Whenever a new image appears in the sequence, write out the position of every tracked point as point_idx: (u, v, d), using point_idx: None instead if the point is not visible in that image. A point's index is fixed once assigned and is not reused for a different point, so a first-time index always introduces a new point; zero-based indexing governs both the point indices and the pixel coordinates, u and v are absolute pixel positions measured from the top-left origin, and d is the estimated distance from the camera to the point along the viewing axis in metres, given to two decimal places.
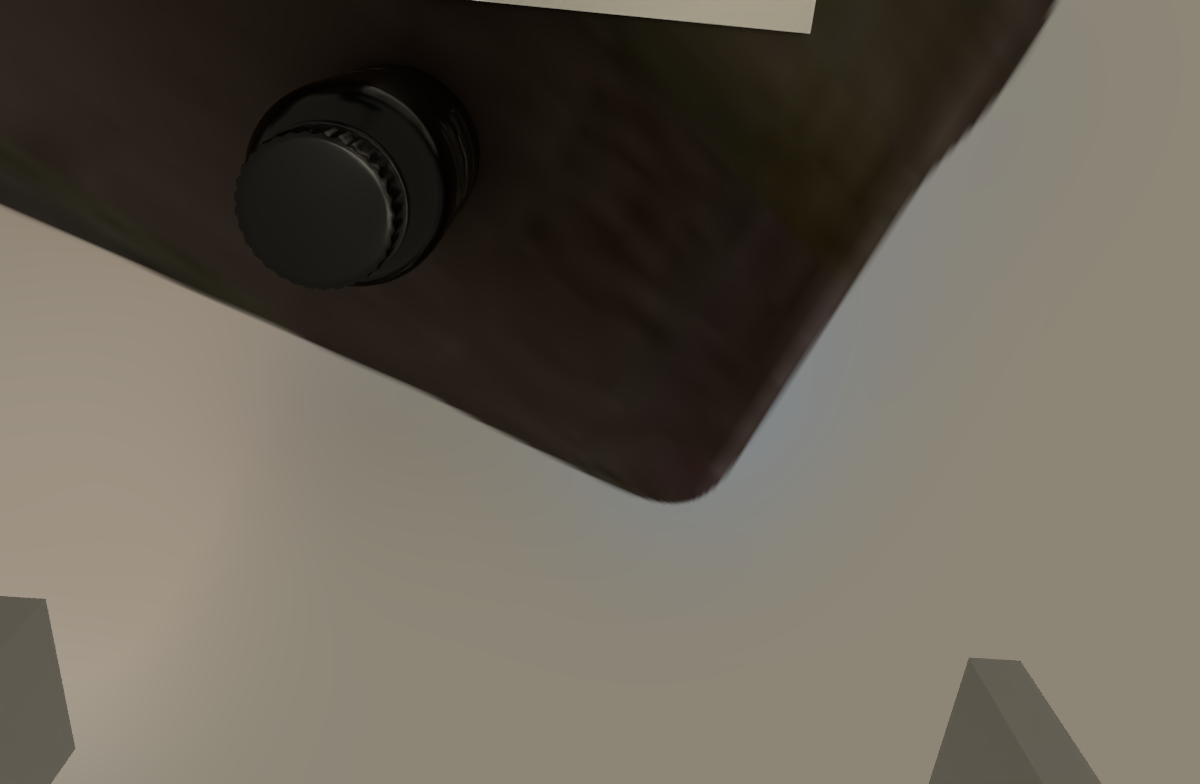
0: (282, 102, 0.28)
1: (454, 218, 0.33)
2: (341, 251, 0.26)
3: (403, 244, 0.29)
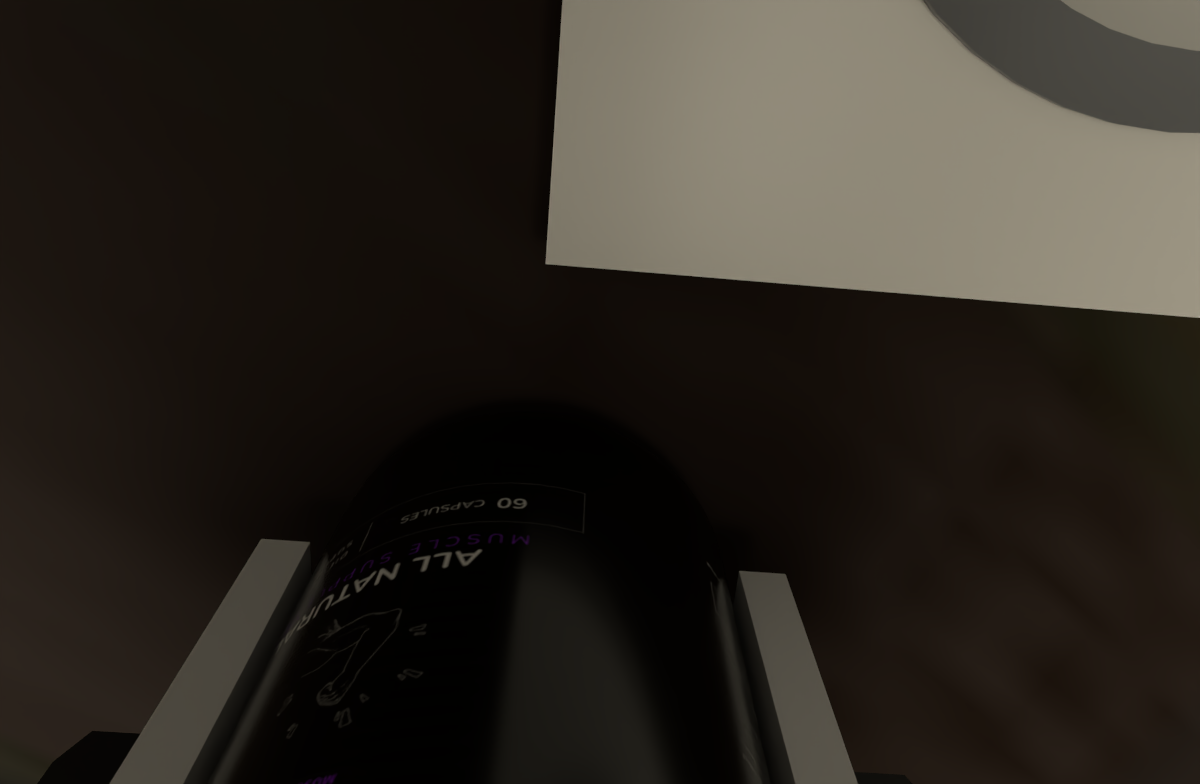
0: None
1: None
2: None
3: None
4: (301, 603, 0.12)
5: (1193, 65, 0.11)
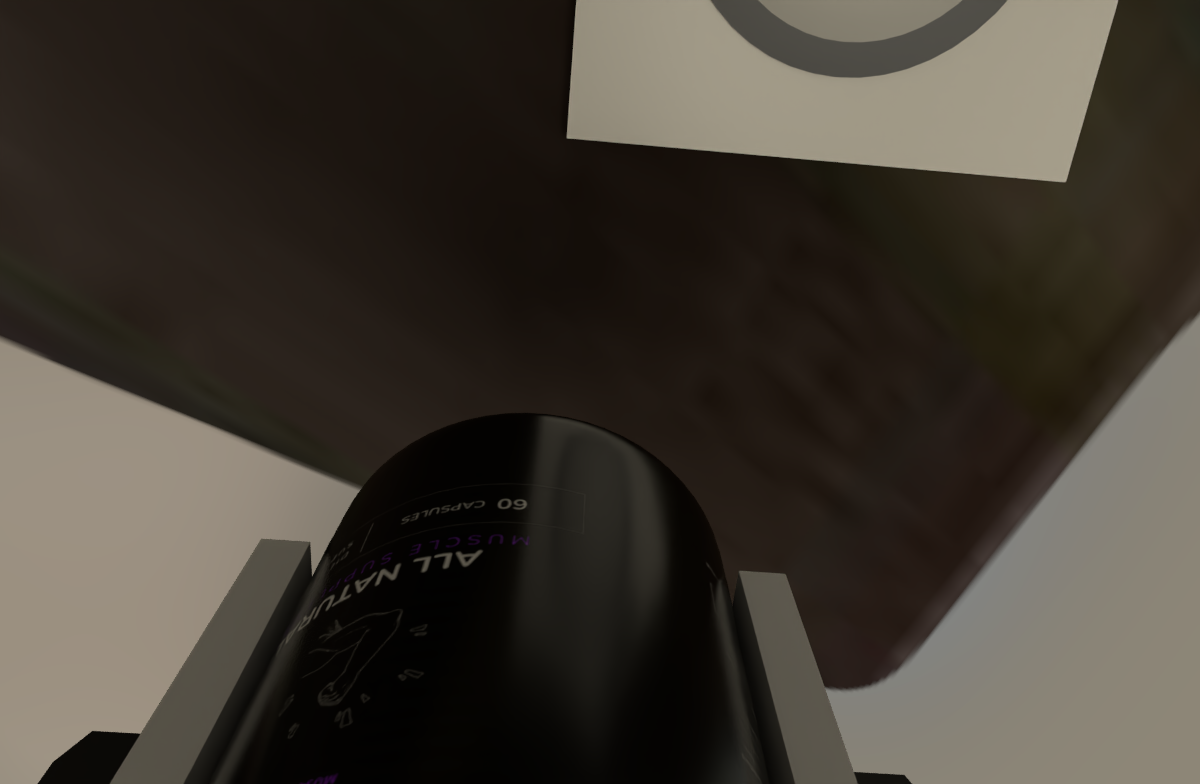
0: None
1: None
2: None
3: None
4: (302, 603, 0.12)
5: (843, 48, 0.26)
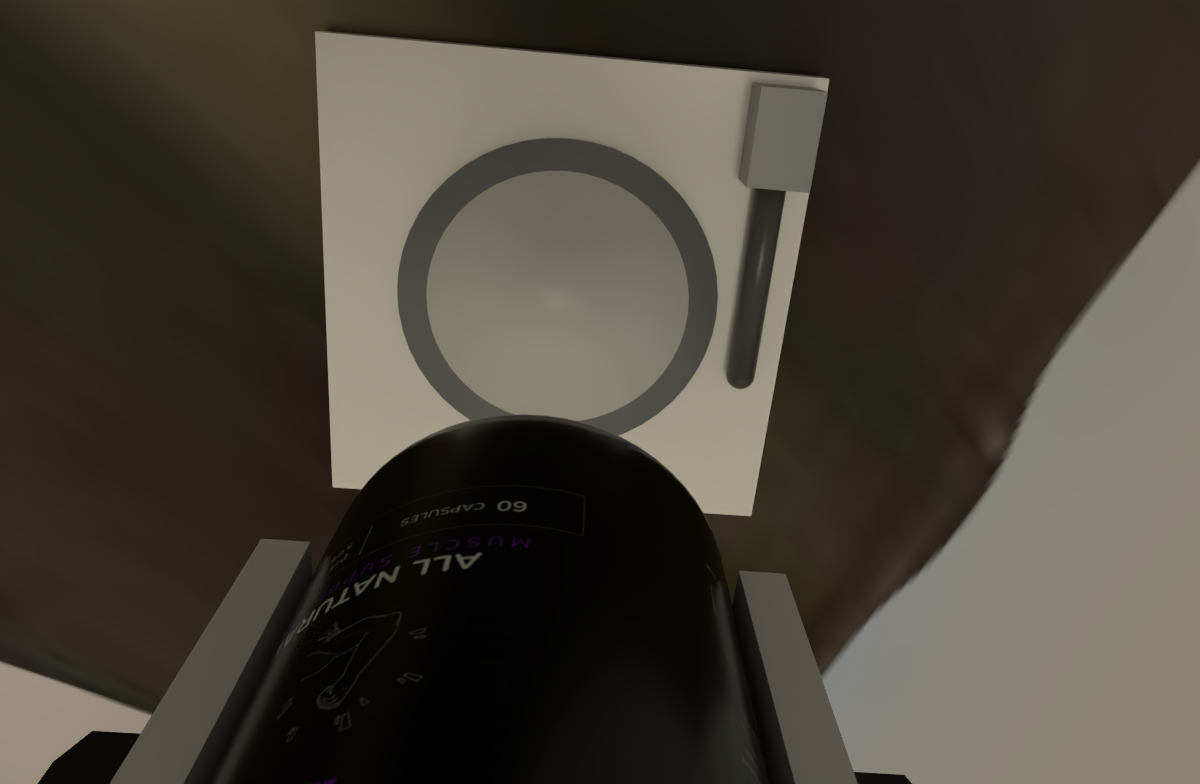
0: None
1: None
2: None
3: None
4: (301, 606, 0.12)
5: None
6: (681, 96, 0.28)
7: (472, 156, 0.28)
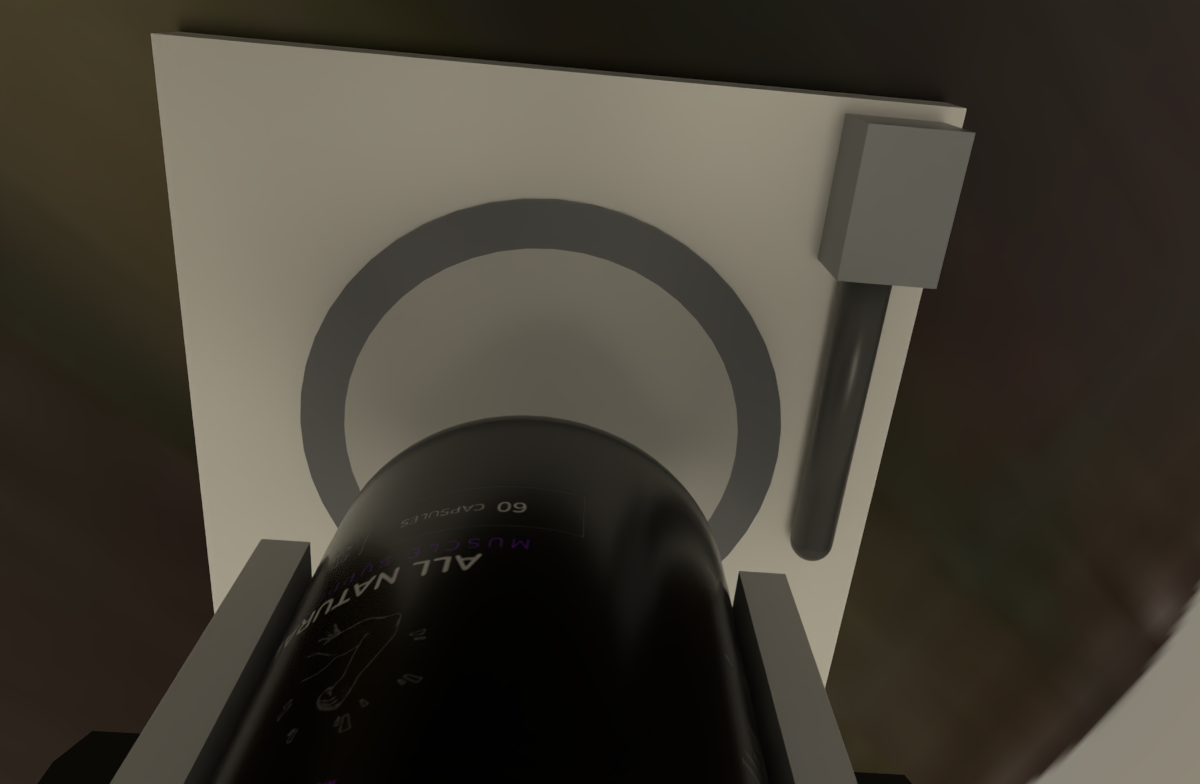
0: None
1: None
2: None
3: None
4: (301, 607, 0.12)
5: None
6: (733, 135, 0.18)
7: (408, 226, 0.18)
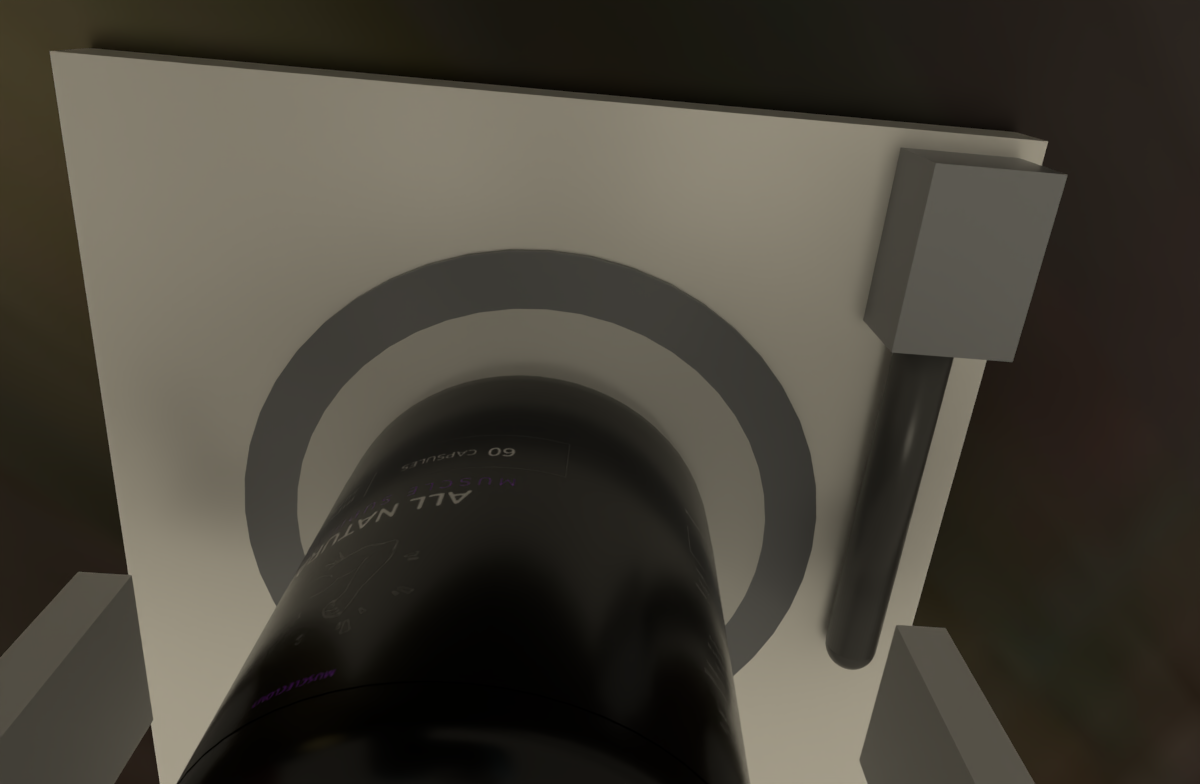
0: None
1: None
2: None
3: None
4: (312, 545, 0.13)
5: None
6: (763, 174, 0.15)
7: (369, 282, 0.15)
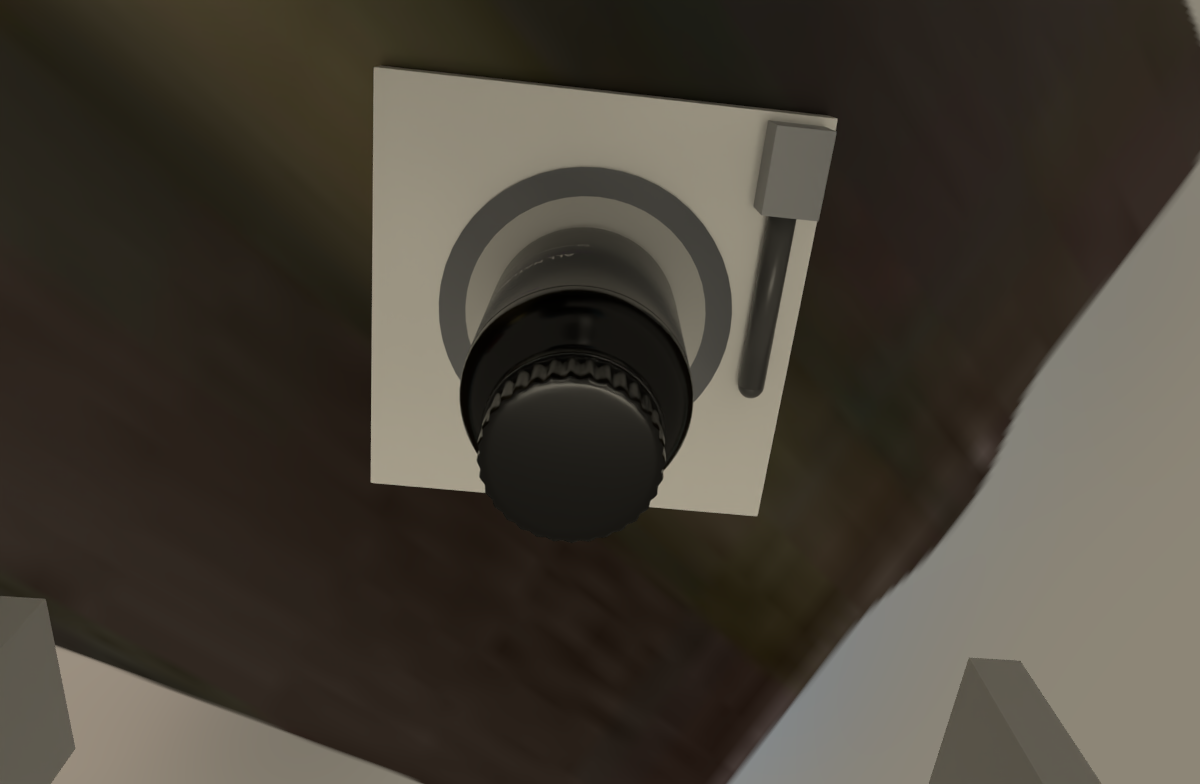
0: (513, 316, 0.24)
1: None
2: (597, 502, 0.22)
3: None
4: (498, 288, 0.29)
5: None
6: (703, 131, 0.31)
7: (512, 181, 0.31)
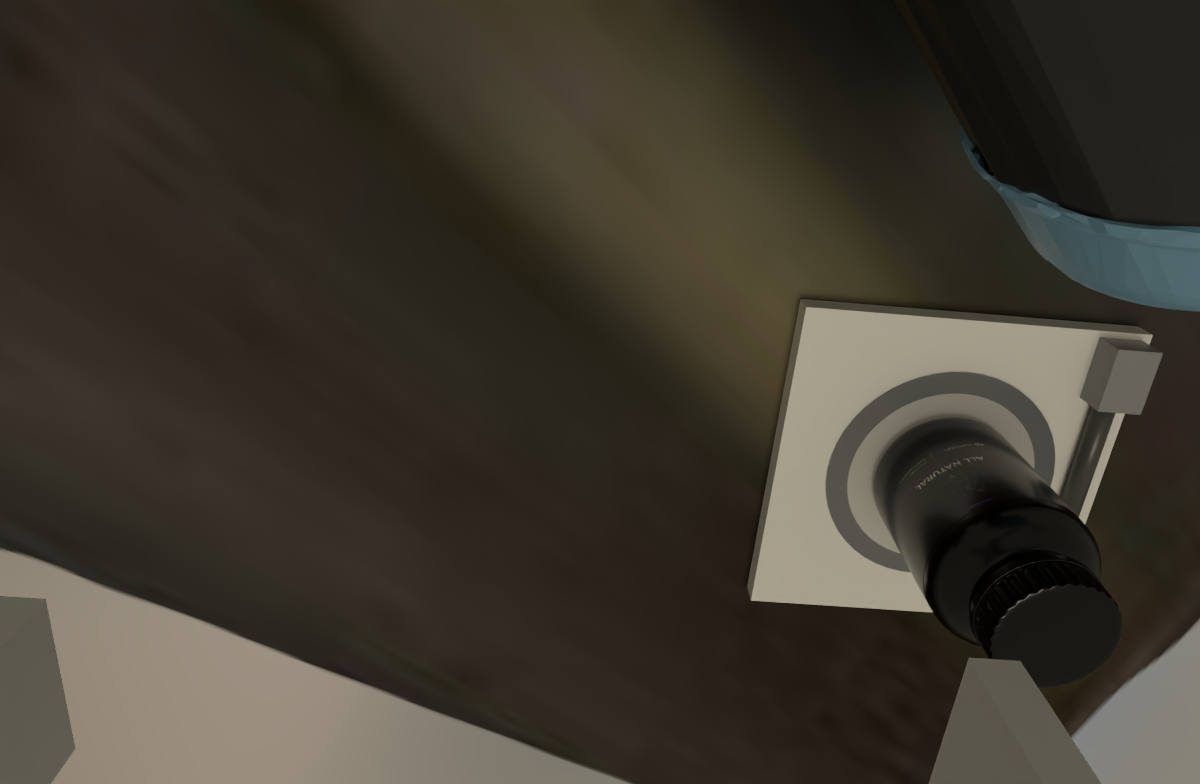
0: (984, 524, 0.34)
1: None
2: (1069, 663, 0.32)
3: None
4: (913, 477, 0.38)
5: None
6: (1049, 346, 0.40)
7: (898, 383, 0.41)
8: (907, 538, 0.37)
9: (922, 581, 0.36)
